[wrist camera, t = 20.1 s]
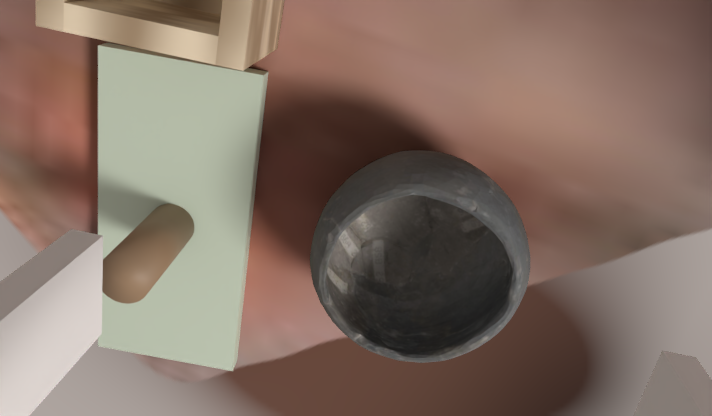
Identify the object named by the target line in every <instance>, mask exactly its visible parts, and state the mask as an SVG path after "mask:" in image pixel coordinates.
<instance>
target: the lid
mask: <svg viewBox="0 0 712 416" xmlns="http://www.w3.org/2000/svg"><path fill="white" fill-rule="evenodd" d="M267 79H268V72H267V71H262V70H256V69H251V68H247V69H245V70H244V71H241V70H237V69H232V68H227V67H223V66H218V65H214V64H209V63H205V62H200V61H195V60H191V59H186V58H182V57H177V56H172V55H168V54H163V53H159V52H154V51H150V50H145V49H140V48H135V47H129V46H123V45H118V44H112V43H105V44H101V45H98V235H103V283H102V334H101V335H100V336H99V337H98V346H100V347H105V348H111V349H117V350H121V351H127V352H132V353H138V354H143V355H148V356H154V357H159V358H165V359H170V360H175V361H181V362H186V363H192V364H197V365H202V366H208V367H213V368H219V369H224V370H229V371H233V369H234V366H235V364H236V362H237V355H238V346H239V337H240V328H241V318H242V309H243V300H244V291H245V282H246V272H247V263H248V254H249V245H250V236H251V226H252V217H253V208H254V199H255V190H256V180H257V171H258V162H259V153H260V144H261V134H262V125H263V116H264V107H265V98H266V88H267Z"/></svg>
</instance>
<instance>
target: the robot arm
mask: <svg viewBox="0 0 712 416" xmlns="http://www.w3.org/2000/svg"><path fill="white" fill-rule="evenodd" d="M102 283H103V235H98V234H93V233H88V232H83V231H78V230H73V229H71V230H70V231H68V232H67V233H66V234H64V235H63V236H62V237H60V238H59V239H57V240H56V241H55V242H53V243H52V244H51V245H49V246H48V247H47V248H45V249H44V250H43V251H41V252H40V253H38V254H37V255H36V256H34V257H33V258H32V259H30V260H29V261H28V262H26V263H25V264H24V265H22V266H21V267H20V268H18V269H17V270H15V271H14V272H13V273H11V274H10V275H9V276H7V277H6V278H5V279H3V280H2V281H1V282H0V416H29V415H30V414H31V413H32V412H33V411H34V410H35V409H36V408H37V406H38V405H39V404H40V403H41V402H42V401H43V400H44V398H45V397H46V396H47V395H48V394H49V393H50V392H51V391H52V389H53V388H54V387H55V386H56V385H57V384H58V383H59V381H60V380H61V379H62V378H63V377H64V376H65V375H66V374H67V372H68V371H69V370H70V369H71V368H72V367H73V366H74V365H75V363H76V362H77V361H78V360H79V359H80V358H81V357H82V355H83V354H84V353H85V352H86V351H87V350H88V349H89V348H90V346H91V345H92V344H93V343H94V342H95V341H96V340H97V338H98V337H99V336H100V335H101V334H102ZM634 416H712V380H711V378H710V377H709V375H708V374H707V373H706V371H705V370H704V368H703V367H702V365H701V364H700V363H699V361H698V360H697V358H695V357H691V356H686V355H682V354H676V353H671V352H667V351H662V352H661V355H660V357H659V359H658V361H657V364H656V366H655V368H654V370H653V373H652V375H651V377H650V380H649V382H648V384H647V386H646V388H645V391H644V393H643V395H642V398H641V400H640V402H639V404H638V406H637V409H636V411H635V413H634Z"/></svg>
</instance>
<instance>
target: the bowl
mask: <svg viewBox="0 0 712 416" xmlns="http://www.w3.org/2000/svg"><path fill="white" fill-rule="evenodd" d="M310 266H311V274H312V280H313V284H314V287H315V290H316V292H317V295H318V297H319V300H320V302H321V304H322V305H323V307H324V309H325V310H326V312H327V314H328V315H329V317H330V318H331V319H332V321H333V322H334V323H335V324H336V326H337V327H338V328H339V329H340V330H341V331H342V332H343V333H344V334H345V335H347V336H348V337H349V338H350V339H352V340H353V341H354V342H355V343H357V344H358V345H359V346H361V347H363V348H365V349H367V350H369V351H371V352H374V353H376V354H379V355H382V356H385V357H388V358H392V359H395V360H400V361H409V362H420V363H422V362H435V361H444V360H447V359H451V358H454V357H457V356H460V355H462V354H466V353H468V352H470V351H471V350H474V349H475V348H477V347H479V346H481V345H482V344H484V343H485V342H487V341H489V340H490V339H491V338H493V337H494V336H495V335H496V334H497V333H499V332H500V331H501V330H502V328H504V327H505V325H506V324H507V323H508V322H509V320H510V319H511V318H512V316H513V315H514V313H515V311H516V310H517V308H518V306H519V304H520V302H521V300H522V298H523V296H524V293H525V291H526V288H527V284H528V280H529V273H530V252H529V245H528V240H527V236H526V232H525V229H524V226H523V223H522V220H521V218H520V215H519V213H518V211H517V209H516V208H515V206H514V204H513V203H512V201H511V200H510V198H509V197H508V196H507V195H506V193H505V192H504V191H503V190H502V189H501V188H500V187H499V186H498V185H497V184H496V183H495V182H494V181H493V180H492V179H491V178H490V177H489V176H487V175H486V174H485V173H484V172H482V171H481V170H479V169H478V168H476V167H475V166H473V165H472V164H470V163H468V162H466V161H464V160H462V159H459V158H457V157H454V156H452V155H449V154H445V153H441V152H436V151H425V150H412V151H400V152H397V153H394V154H390V155H388V156H385V157H382V158H380V159H378V160H376V161H374V162H372V163H370V164H368V165H367V166H365V167H363V168H362V169H360V170H358V171H357V172H356V173H354V174H353V175H351V176H350V177H349V178H348V179H347V180H346V181H345V182H344V183H343V184H342V185H341V186H340V187H339V188H338V189H337V191H336V192H335V193H334V194H333V195H332V196H331V198H330V199H329V201H328V202H327V204H326V206H325V208H324V209H323V211H322V214H321V216H320V218H319V221H318V223H317V226H316V229H315V232H314V236H313V240H312V246H311V254H310Z"/></svg>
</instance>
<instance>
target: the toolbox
mask: <svg viewBox="0 0 712 416" xmlns="http://www.w3.org/2000/svg"><path fill="white" fill-rule="evenodd" d="M283 7H284V0H36V26H40V27H44V28H49V29H53V30H58V31H62V32H67V33H72V34H76V35H81V36H85V37H90V38H95V39H99V40H104V41H108V42H113V43H117V44H122V45H127V46H131V47H136V48H140V49H145V50H150V51H154V52H159V53H163V54H168V55H172V56H177V57H182V58H186V59H191V60H195V61H200V62H205V63H209V64H214V65H218V66H223V67H227V68H232V69H237V70H241V71H244V70H245V69H247V68H248V67H250V66H251V65H253V64H254V63H256V62H257V61H259V60H261V59H262V58H264V57H265V56H267V55H268V54H270V53H271V52H273V51H275V50H276V49H277V47H278V40H279V34H280V27H281V20H282V14H283Z"/></svg>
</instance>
